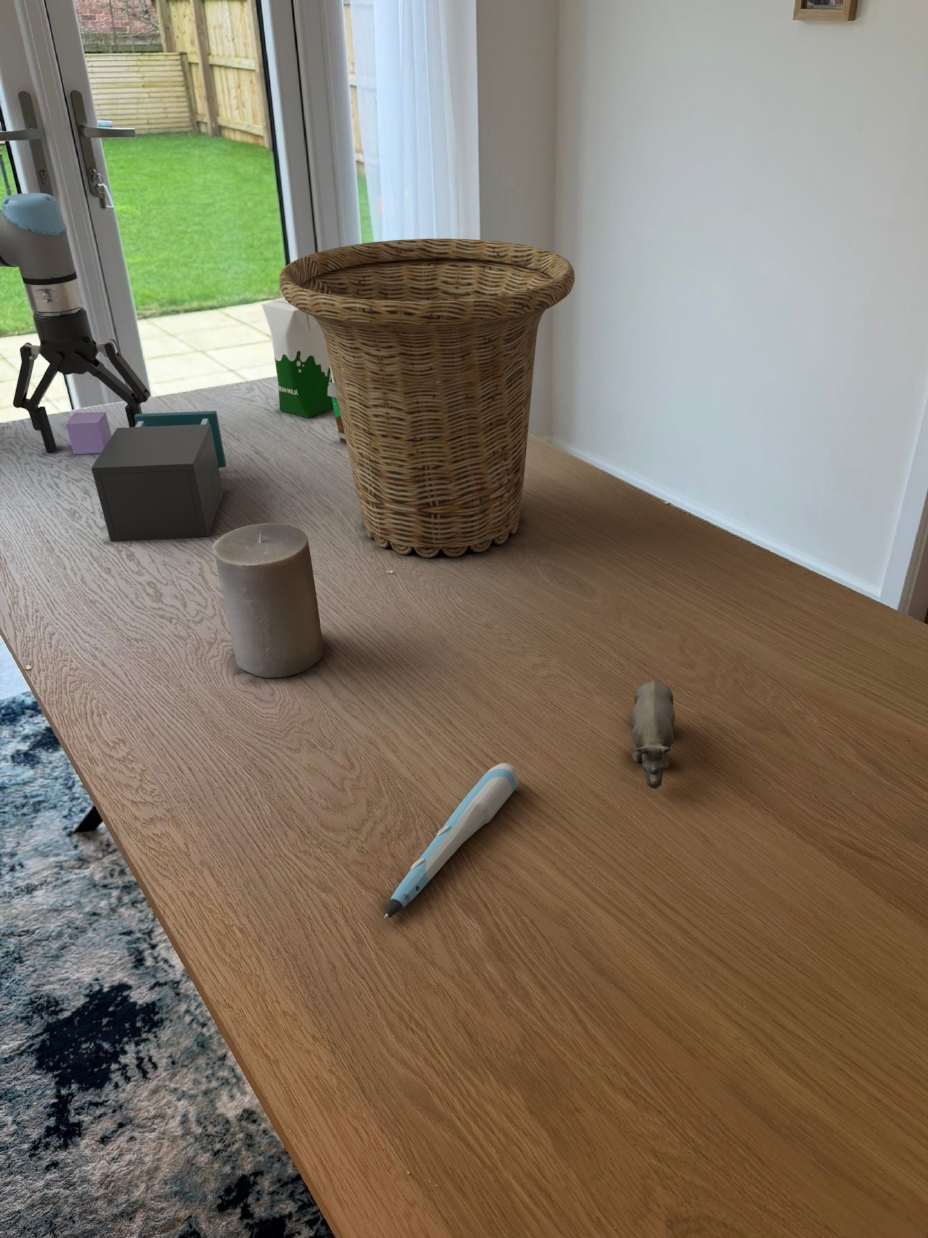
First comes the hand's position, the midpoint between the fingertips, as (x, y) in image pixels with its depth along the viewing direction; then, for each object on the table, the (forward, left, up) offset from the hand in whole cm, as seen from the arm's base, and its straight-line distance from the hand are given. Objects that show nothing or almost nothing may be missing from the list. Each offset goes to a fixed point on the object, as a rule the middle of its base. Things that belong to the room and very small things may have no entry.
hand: (95, 447), depth 164 cm
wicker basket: (+55, -35, 0) cm, 65 cm away
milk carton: (+33, +15, 0) cm, 36 cm away
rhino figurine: (+73, -90, 0) cm, 116 cm away
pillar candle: (+36, -67, 0) cm, 76 cm away
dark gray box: (+17, -28, 0) cm, 33 cm away
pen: (+54, -100, 0) cm, 113 cm away
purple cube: (0, 0, 0) cm, 0 cm away
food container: (+45, -1, 0) cm, 45 cm away
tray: (+17, -16, +1) cm, 23 cm away
